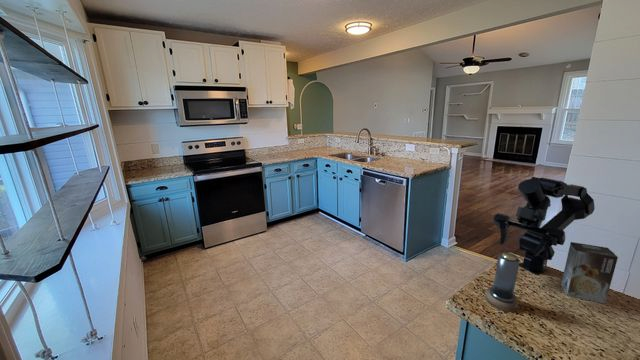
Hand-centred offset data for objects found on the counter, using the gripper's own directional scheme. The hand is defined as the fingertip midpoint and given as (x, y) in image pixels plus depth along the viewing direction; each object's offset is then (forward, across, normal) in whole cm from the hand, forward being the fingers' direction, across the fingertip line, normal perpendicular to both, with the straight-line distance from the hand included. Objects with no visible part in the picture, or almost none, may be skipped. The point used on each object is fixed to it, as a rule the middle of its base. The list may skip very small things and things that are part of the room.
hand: (517, 250), depth 86 cm
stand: (+17, +1, +2) cm, 17 cm away
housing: (+16, +1, +1) cm, 16 cm away
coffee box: (0, +15, +19) cm, 24 cm away
